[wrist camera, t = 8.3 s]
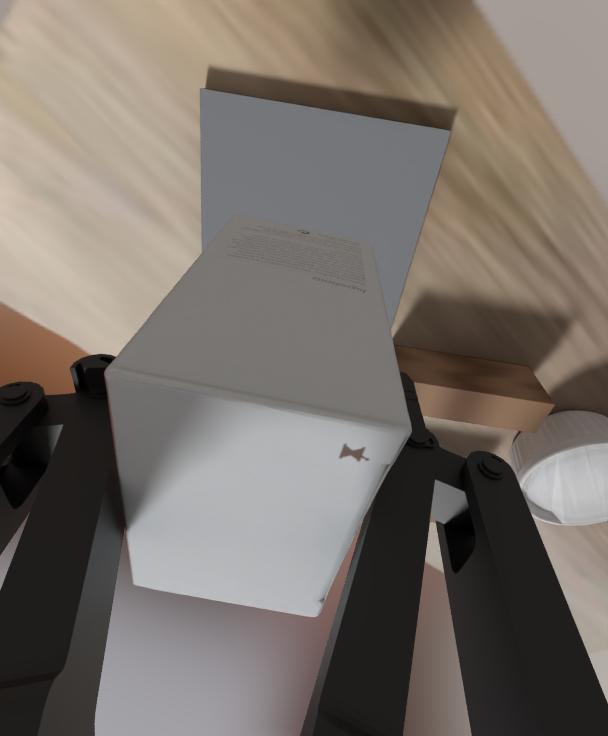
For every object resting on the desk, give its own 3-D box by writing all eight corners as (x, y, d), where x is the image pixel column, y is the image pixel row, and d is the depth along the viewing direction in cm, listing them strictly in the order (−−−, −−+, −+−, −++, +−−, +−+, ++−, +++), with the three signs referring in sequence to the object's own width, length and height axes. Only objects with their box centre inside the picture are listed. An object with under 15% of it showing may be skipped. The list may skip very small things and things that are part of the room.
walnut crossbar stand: (528, 366, 33) (555, 404, 29) (459, 486, 42) (472, 528, 38) (389, 344, 33) (395, 379, 29) (350, 469, 42) (350, 509, 38)
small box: (234, 208, 15) (92, 360, 6) (376, 241, 15) (421, 428, 7) (219, 373, 20) (124, 591, 11) (328, 395, 20) (318, 625, 11)
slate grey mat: (447, 129, 24) (451, 130, 23) (384, 338, 33) (385, 344, 32) (204, 88, 24) (199, 88, 23) (206, 309, 32) (202, 314, 32)
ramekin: (474, 448, 39) (491, 491, 35) (579, 378, 34) (614, 419, 29) (545, 495, 42) (568, 541, 38) (651, 439, 37) (692, 485, 32)
